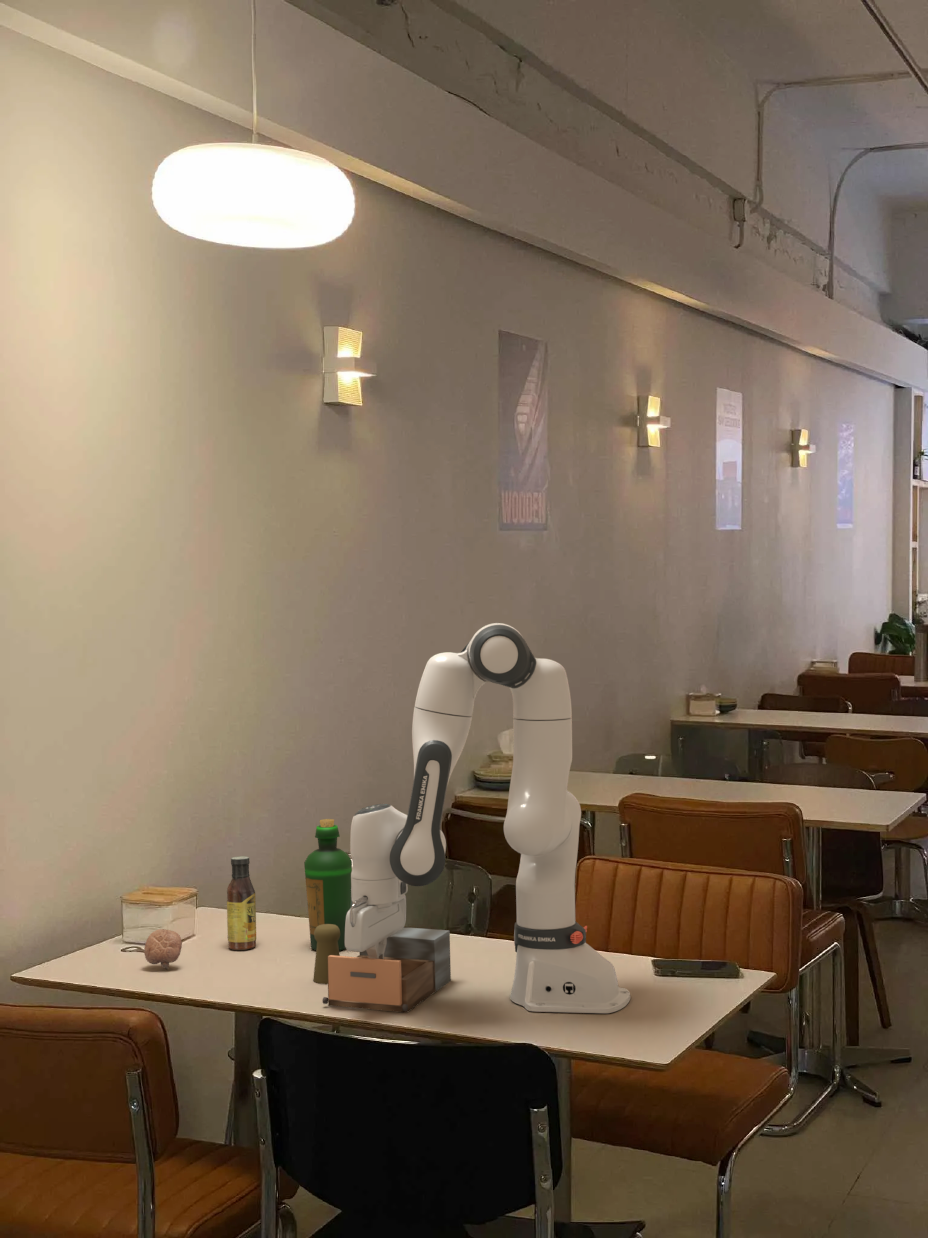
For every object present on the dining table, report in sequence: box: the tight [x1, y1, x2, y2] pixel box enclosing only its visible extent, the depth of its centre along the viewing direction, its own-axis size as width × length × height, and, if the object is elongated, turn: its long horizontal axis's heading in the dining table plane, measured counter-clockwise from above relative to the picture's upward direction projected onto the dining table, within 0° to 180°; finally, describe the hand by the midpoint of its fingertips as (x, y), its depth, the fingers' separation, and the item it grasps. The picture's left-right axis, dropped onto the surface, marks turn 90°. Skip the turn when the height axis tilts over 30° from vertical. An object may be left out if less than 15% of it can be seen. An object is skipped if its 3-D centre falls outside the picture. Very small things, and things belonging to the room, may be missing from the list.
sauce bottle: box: [226, 855, 257, 951], centre depth 305 cm, size 7×6×20 cm
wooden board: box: [328, 955, 402, 1006], centre depth 256 cm, size 14×1×8 cm, turn 69°
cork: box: [312, 924, 341, 985], centre depth 278 cm, size 6×6×11 cm
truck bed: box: [322, 926, 452, 1014], centre depth 267 cm, size 17×24×10 cm
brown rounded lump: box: [143, 928, 183, 970], centre depth 289 cm, size 8×6×8 cm
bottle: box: [304, 818, 353, 952], centre depth 303 cm, size 11×11×28 cm
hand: (376, 964), depth 262 cm, fingers closed
